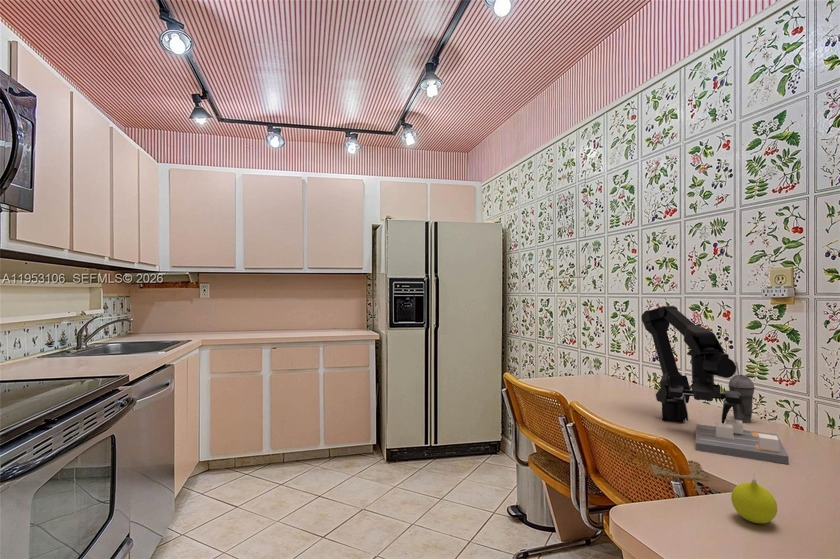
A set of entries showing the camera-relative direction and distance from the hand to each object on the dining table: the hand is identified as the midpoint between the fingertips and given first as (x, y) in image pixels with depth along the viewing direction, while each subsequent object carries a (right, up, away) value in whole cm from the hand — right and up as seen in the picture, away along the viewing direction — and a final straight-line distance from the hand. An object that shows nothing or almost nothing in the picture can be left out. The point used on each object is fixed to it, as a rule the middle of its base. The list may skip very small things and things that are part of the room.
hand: (704, 422), depth 133 cm
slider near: (+5, -1, -18) cm, 19 cm away
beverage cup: (+22, -4, +13) cm, 26 cm away
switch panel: (+3, -4, -9) cm, 11 cm away
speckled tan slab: (-23, -4, -24) cm, 34 cm away
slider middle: (+1, -1, -8) cm, 8 cm away
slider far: (+6, -1, -4) cm, 8 cm away
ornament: (-23, -3, -50) cm, 55 cm away
